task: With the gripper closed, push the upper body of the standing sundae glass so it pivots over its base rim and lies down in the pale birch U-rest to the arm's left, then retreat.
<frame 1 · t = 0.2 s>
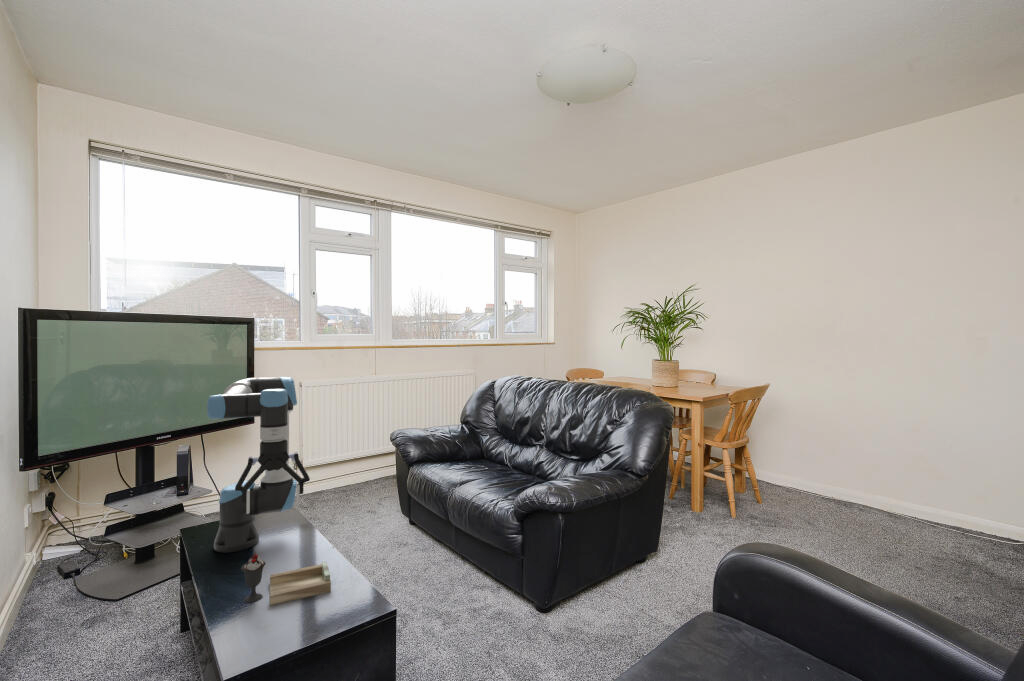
hand: (273, 508, 140), 28 cm above the table, fingers open, 13 cm apart
rest: (299, 587, 146), on the table
sundae: (253, 599, 140), on the table
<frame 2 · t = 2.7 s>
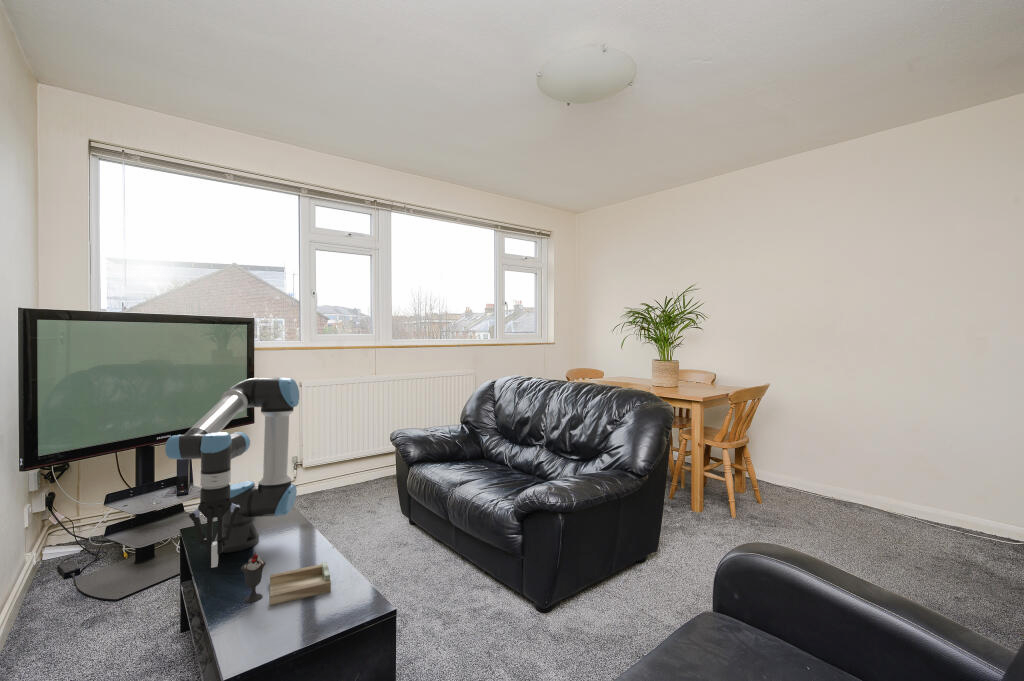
hand: (214, 565, 135), 13 cm above the table, fingers closed
nothing on the table moved.
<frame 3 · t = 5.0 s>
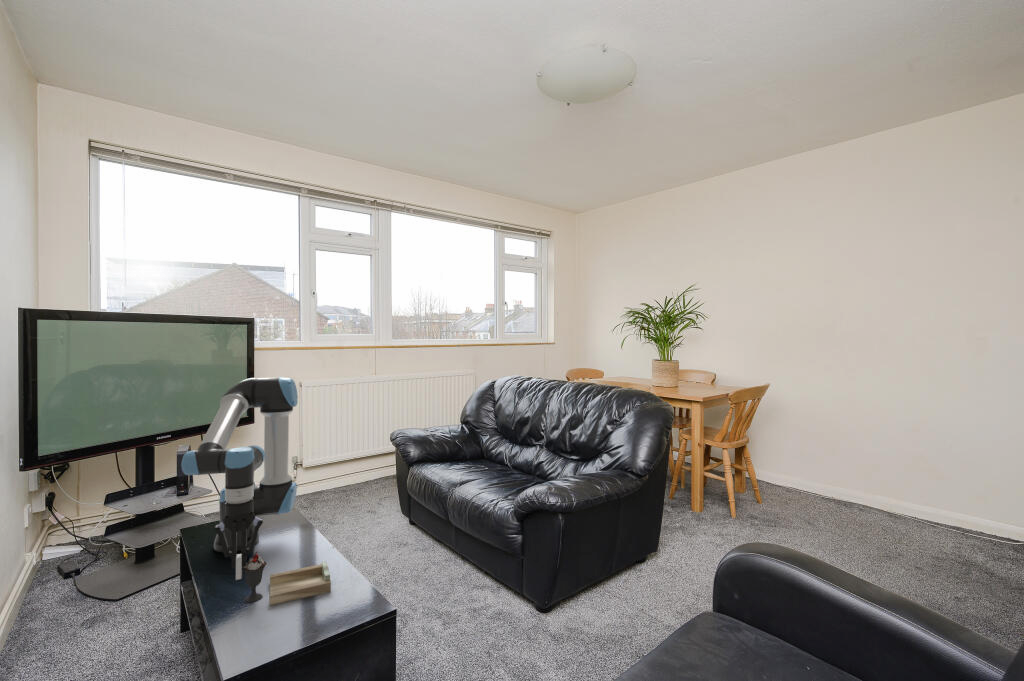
hand: (238, 577, 138), 7 cm above the table, fingers closed
sundae: (253, 598, 140), on the table, touching gripper
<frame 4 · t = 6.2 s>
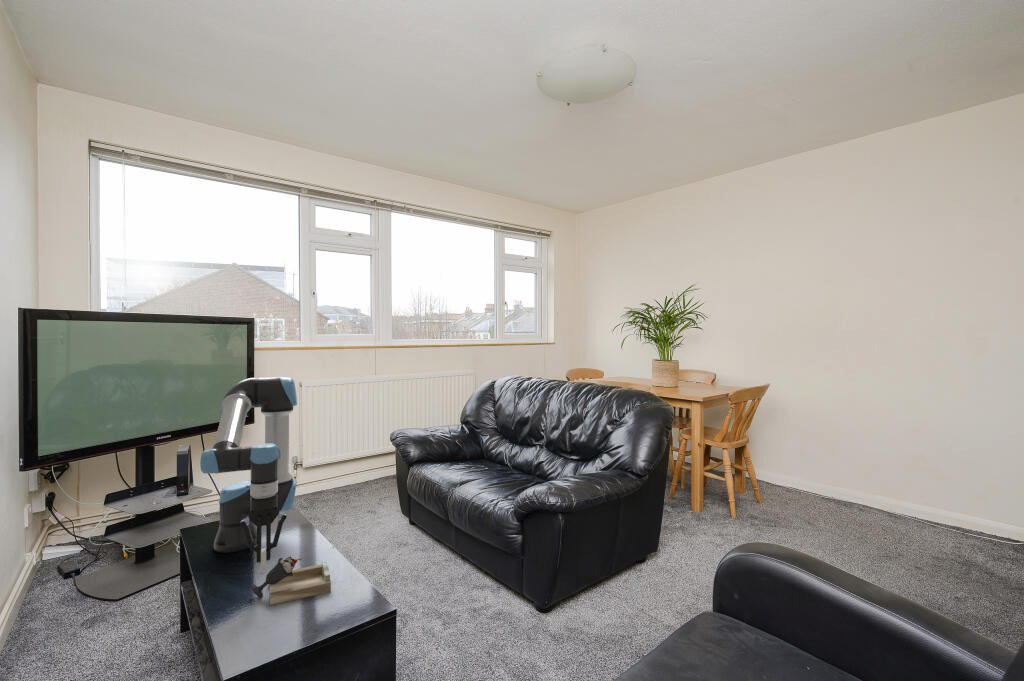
hand: (263, 571, 141), 8 cm above the table, fingers closed
sundae: (256, 592, 140), point 2 cm above the table
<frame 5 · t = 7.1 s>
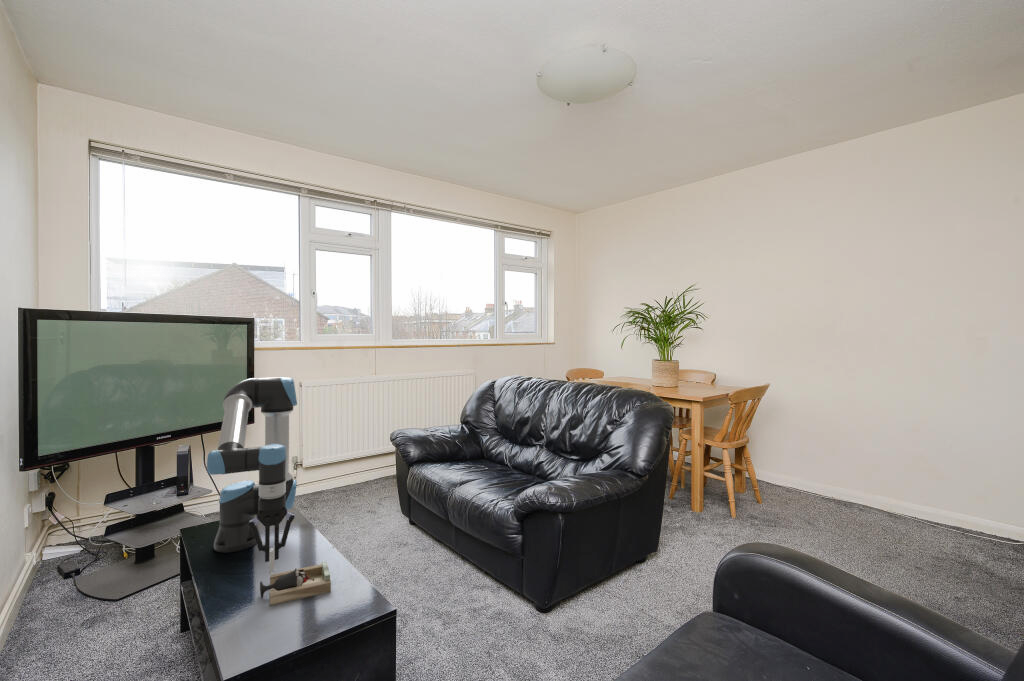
hand: (271, 570, 142), 7 cm above the table, fingers closed
sundae: (260, 590, 140), point 2 cm above the table, touching rest
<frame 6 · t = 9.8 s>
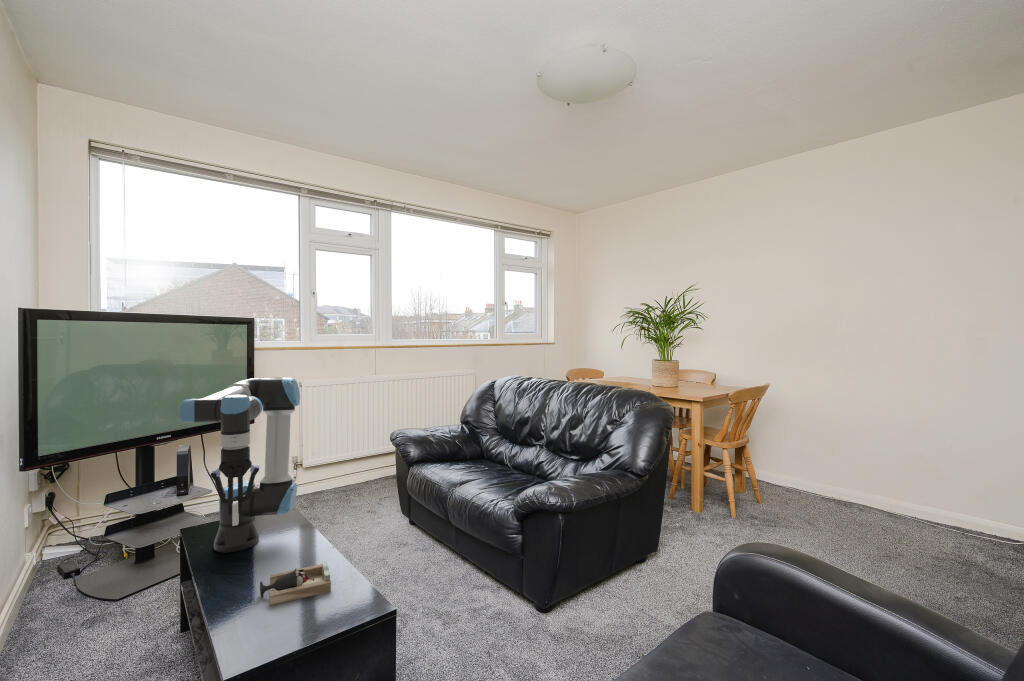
hand: (235, 523, 138), 24 cm above the table, fingers closed
nothing on the table moved.
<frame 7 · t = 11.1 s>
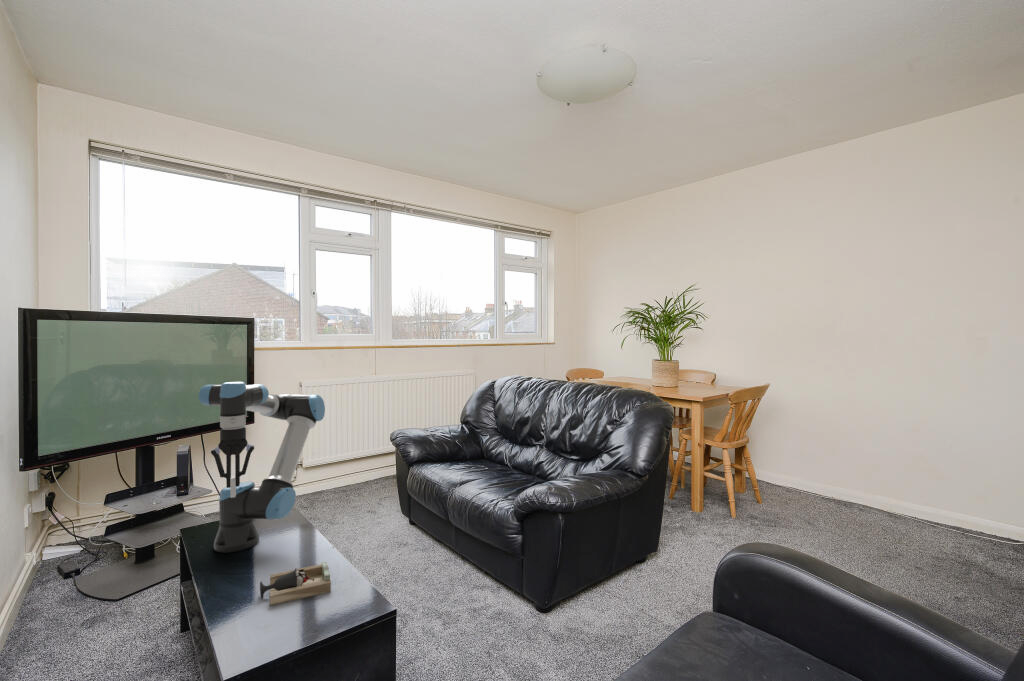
hand: (233, 496, 155), 26 cm above the table, fingers closed
nothing on the table moved.
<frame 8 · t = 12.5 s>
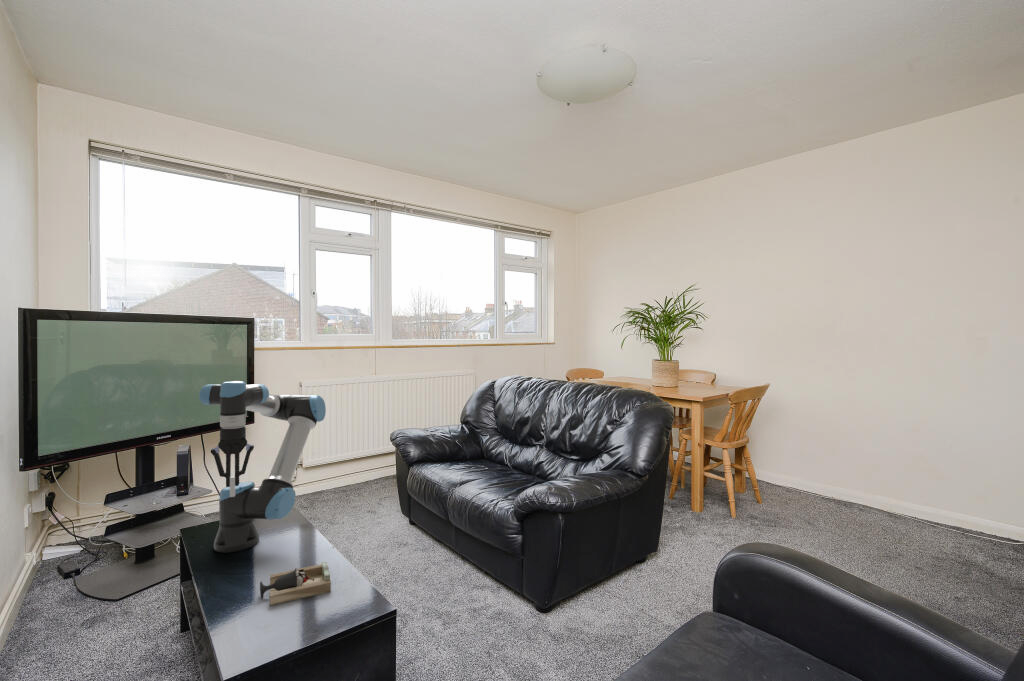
hand: (232, 495, 155), 26 cm above the table, fingers closed
nothing on the table moved.
at the end: sundae tilted 83°; sundae inside the target area (5.6 cm from its centre), point 2.4 cm above the table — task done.
